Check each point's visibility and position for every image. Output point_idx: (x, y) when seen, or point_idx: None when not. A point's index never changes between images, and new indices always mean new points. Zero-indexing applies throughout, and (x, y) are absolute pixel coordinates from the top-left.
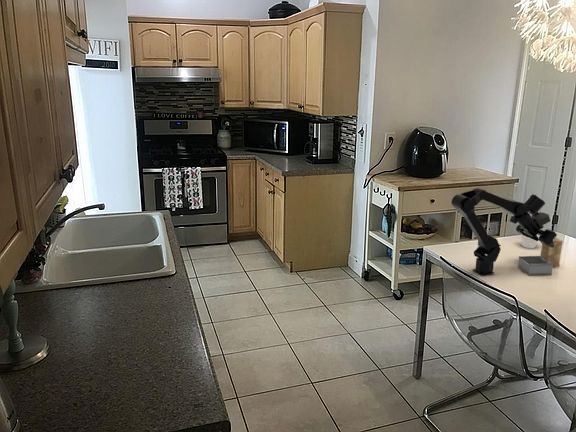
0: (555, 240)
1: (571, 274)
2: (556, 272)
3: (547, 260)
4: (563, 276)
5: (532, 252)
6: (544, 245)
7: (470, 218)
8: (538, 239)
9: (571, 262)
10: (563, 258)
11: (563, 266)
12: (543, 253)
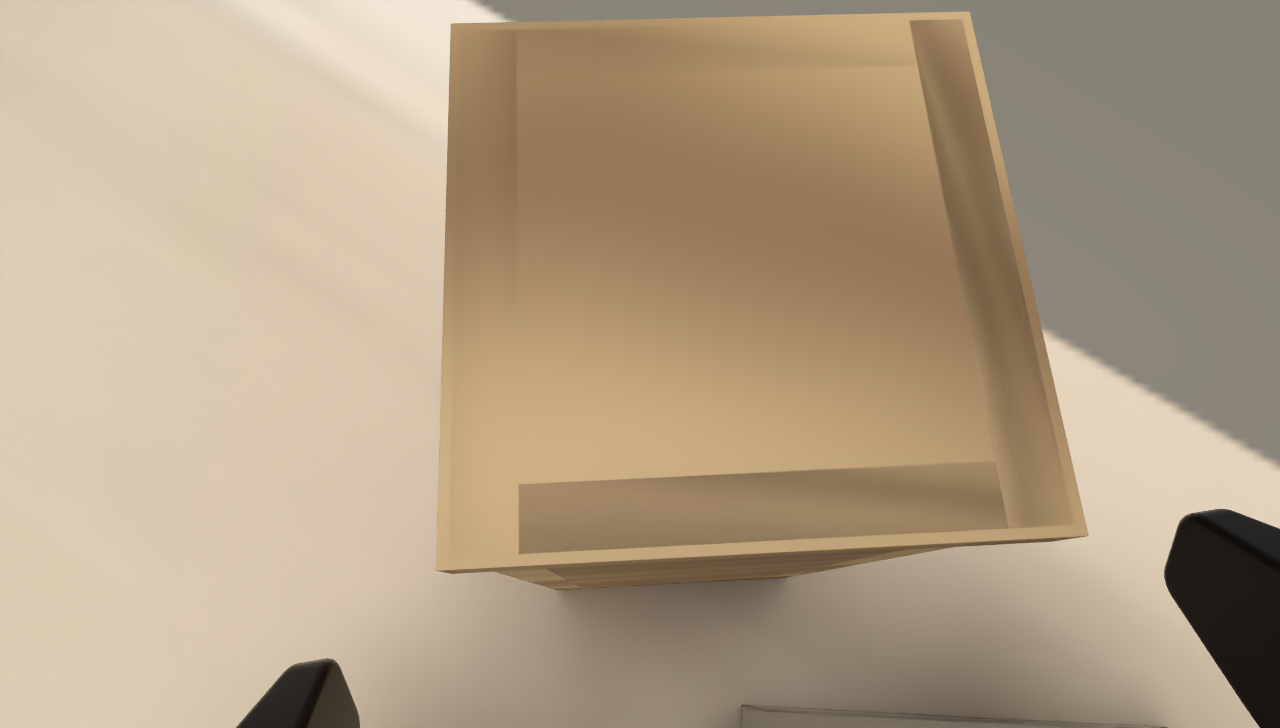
0: (893, 225)
1: (1093, 360)
2: (1018, 550)
3: (797, 572)
4: None
5: (18, 399)
6: (645, 567)
7: None
8: (337, 691)
9: None
10: (423, 85)
11: None
12: (639, 577)
